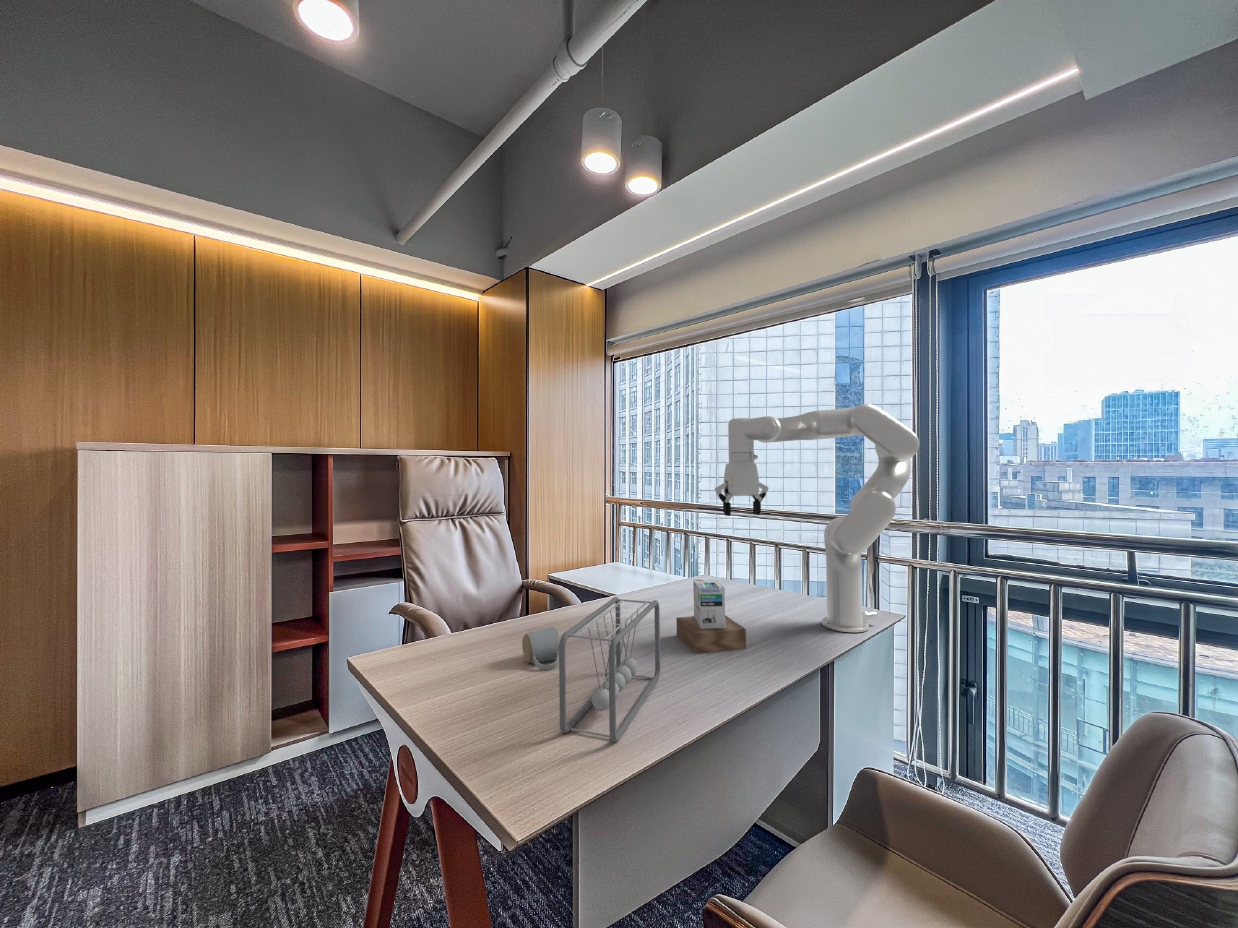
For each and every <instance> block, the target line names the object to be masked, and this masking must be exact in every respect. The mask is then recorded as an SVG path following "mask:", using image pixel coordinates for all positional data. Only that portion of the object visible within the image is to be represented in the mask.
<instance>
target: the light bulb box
mask: <svg viewBox="0 0 1238 928" xmlns="http://www.w3.org/2000/svg"><path fill="white" fill-rule="evenodd" d="M692 581H693V582H692V583H693V584H692V585H693V616H694V618H695V619H696V621H697V623H698V625H699V626H700V628H701V629H718V628H725V615H726V598H725V597H726V592H725V590H726V589H725V587H724V586H723V585H722V584H721V583H720V582H719V581H718V580H717V579H715V578H712V579H711V578H710V579H705V578H704V579H703V578H702V579H700V578H699V579H695V578H693V580H692Z"/></svg>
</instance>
